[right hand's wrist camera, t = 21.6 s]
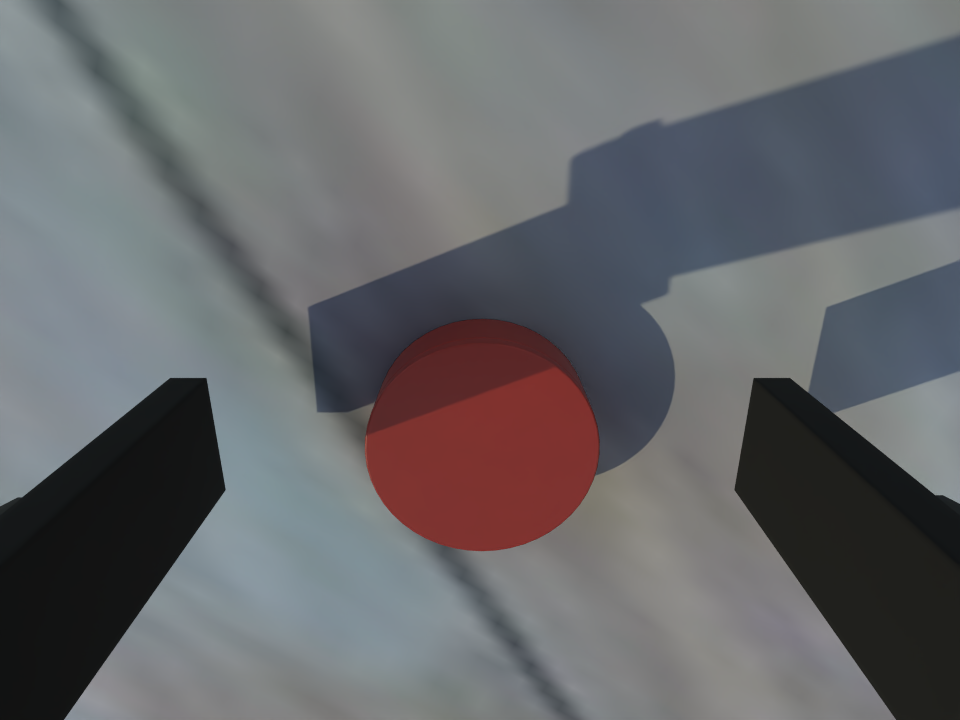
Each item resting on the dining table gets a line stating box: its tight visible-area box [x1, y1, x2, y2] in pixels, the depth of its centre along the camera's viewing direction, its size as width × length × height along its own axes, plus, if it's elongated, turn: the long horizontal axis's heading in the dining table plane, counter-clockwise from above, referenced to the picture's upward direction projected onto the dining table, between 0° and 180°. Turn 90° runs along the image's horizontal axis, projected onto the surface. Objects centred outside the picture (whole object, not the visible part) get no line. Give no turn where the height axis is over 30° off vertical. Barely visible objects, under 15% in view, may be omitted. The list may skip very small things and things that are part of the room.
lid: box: [365, 319, 600, 551], centre depth 14 cm, size 5×5×2 cm
